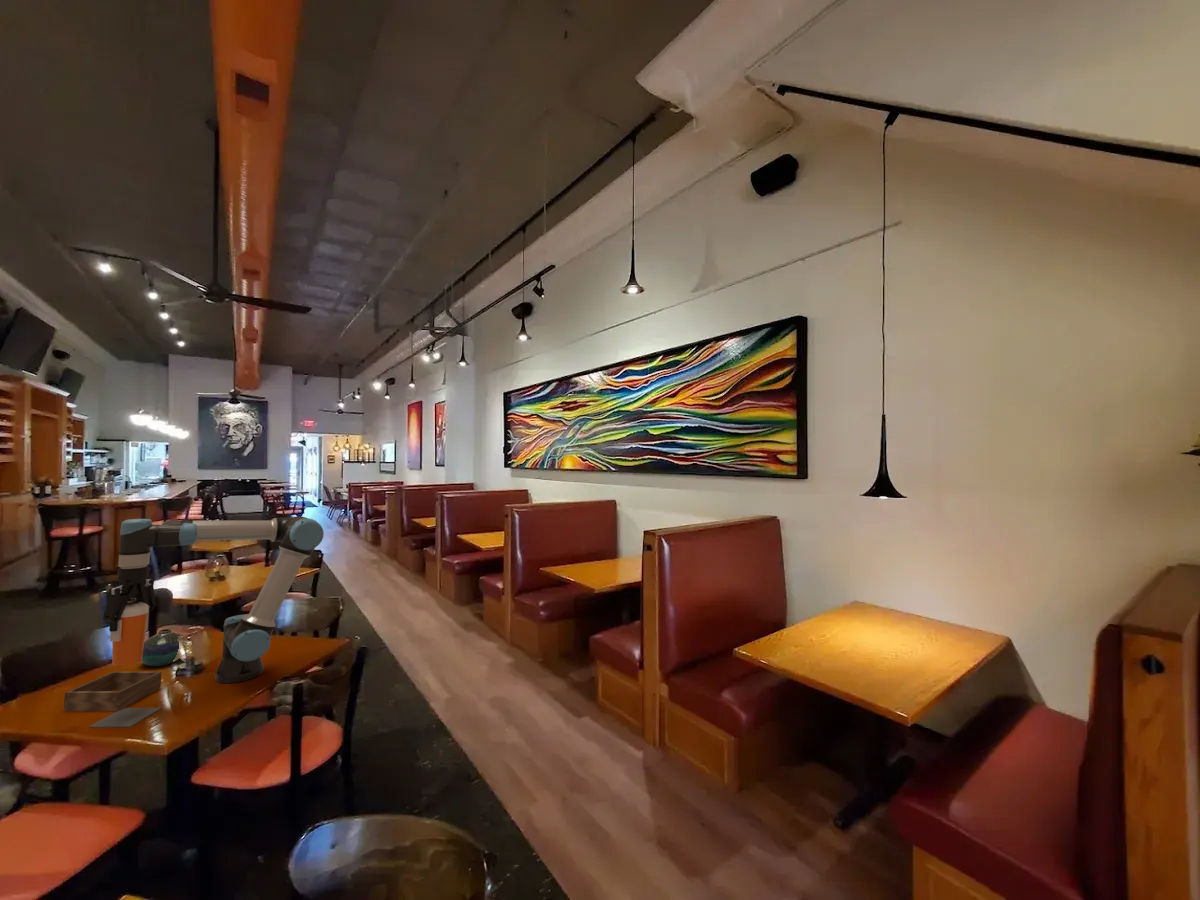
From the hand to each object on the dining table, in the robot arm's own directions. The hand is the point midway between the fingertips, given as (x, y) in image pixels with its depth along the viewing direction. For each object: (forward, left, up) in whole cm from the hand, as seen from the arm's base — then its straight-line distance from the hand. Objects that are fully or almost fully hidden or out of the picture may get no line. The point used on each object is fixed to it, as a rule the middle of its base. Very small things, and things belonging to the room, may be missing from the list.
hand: (129, 635), depth 162 cm
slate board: (-2, +2, -26) cm, 26 cm away
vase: (+22, -43, -26) cm, 55 cm away
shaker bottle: (0, 0, -9) cm, 9 cm away
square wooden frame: (+13, -11, -26) cm, 31 cm away
